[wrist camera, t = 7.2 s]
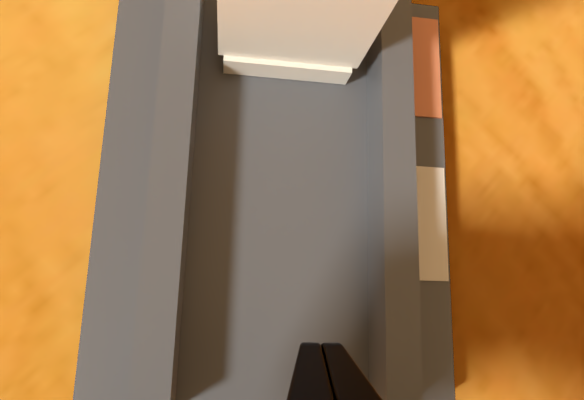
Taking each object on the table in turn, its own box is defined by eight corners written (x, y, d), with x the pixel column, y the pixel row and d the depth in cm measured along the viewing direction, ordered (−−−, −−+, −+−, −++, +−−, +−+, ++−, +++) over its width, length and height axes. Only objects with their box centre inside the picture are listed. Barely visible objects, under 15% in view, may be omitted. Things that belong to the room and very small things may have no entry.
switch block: (440, 399, 18) (483, 419, 15) (82, 400, 16) (51, 424, 13) (426, 22, 21) (459, -22, 18) (128, -12, 19) (112, -67, 16)
